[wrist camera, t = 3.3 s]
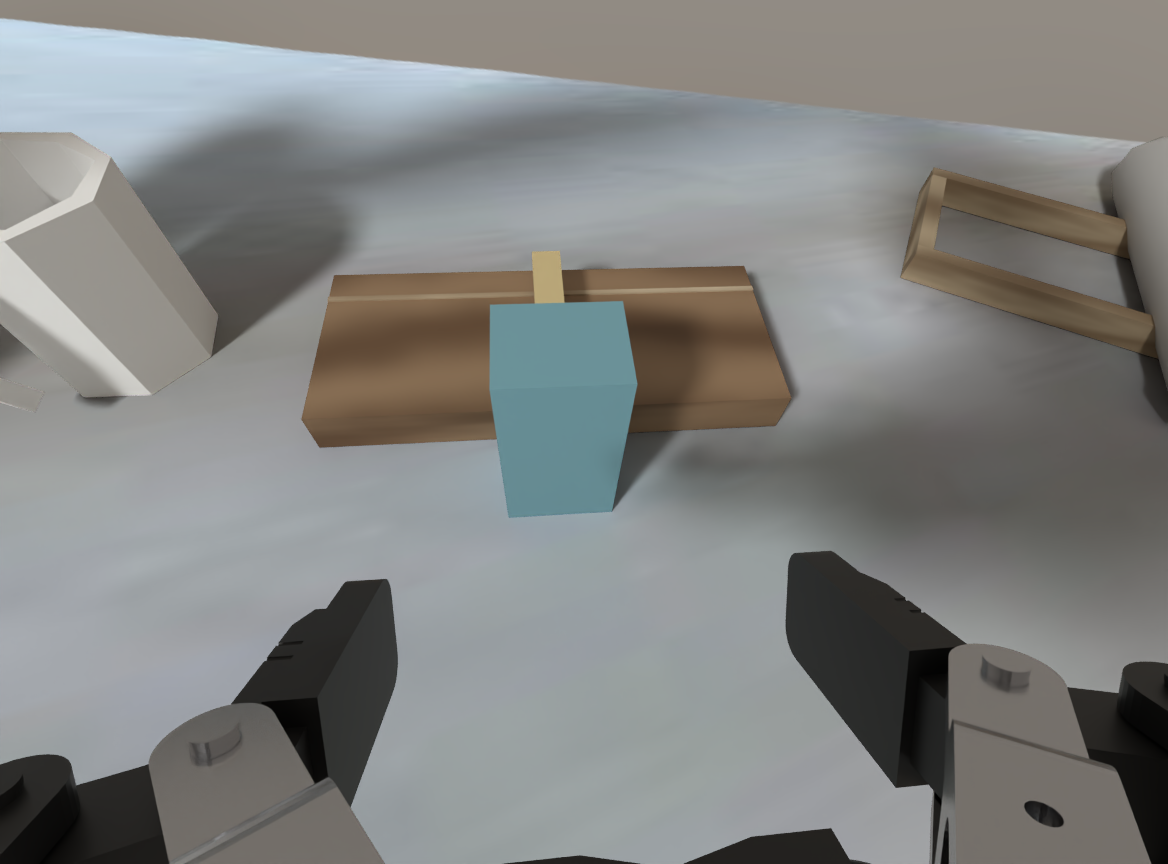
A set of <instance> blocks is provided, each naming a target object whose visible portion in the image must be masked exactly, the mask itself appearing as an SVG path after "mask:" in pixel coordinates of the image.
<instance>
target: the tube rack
mask: <svg viewBox="0 0 1168 864" xmlns="http://www.w3.org/2000/svg"><path fill="white" fill-rule="evenodd" d="M942 206H945V207H949V208H952V209H956V210H959V211H963V212H966V213H970V214H973V215H977V216H980V217H984V218H987V219H991V220H994V221H998V222H1001V223H1005V224H1008V225H1012V226H1015V227H1019V228H1022V229H1026V230H1029V231H1033V232H1036V233H1040V234H1043V235H1047V236H1050V237H1054V238H1057V239H1061V240H1064V241H1068V242H1071V243H1075V244H1078V245H1082V246H1085V247H1089V248H1092V249H1096V250H1099V251H1103V252H1106V253H1110V254H1113V255H1117V256H1120V257H1123V258H1127V259H1130V256H1129V253H1128V242H1127V226H1126V223H1125V220H1124V219H1120V218H1117V217H1113V216H1109V215H1106V214H1102V213H1098V212H1095V211H1091V210H1087V209H1084V208H1080V207H1076V206H1073V205H1069V204H1065V203H1062V202H1058V201H1055V200H1051V199H1047V198H1044V197H1040V196H1036V195H1033V194H1029V193H1025V192H1022V191H1018V190H1014V189H1011V188H1007V187H1004V186H1000V185H996V184H993V183H989V182H985V181H982V180H978V179H974V178H971V177H967V176H963V175H960V174H956V173H952V172H949V171H945V170H942V169H938V168H933V170H932V172H931V173H930V175H929V177H928V179H927V180H926V182H925V184H924V185H923V187H922V189H921V190H920V192H919V197H918V201H917V206H916V210H915V215H914V219H913V224H912V228H911V233H910V237H909V242H908V246H907V251H906V255H905V260H904V264H903V269H902V273H901V278H903V279H906V280H910V281H913V282H916V283H919V284H922V285H925V286H929V287H932V288H935V289H938V290H941V291H944V292H948V293H951V294H954V295H957V296H960V297H963V298H967V299H970V300H973V301H976V302H979V303H982V304H986V305H989V306H992V307H995V308H998V309H1001V310H1005V311H1008V312H1011V313H1014V314H1017V315H1020V316H1024V317H1027V318H1030V319H1033V320H1036V321H1039V322H1043V323H1046V324H1049V325H1052V326H1055V327H1058V328H1062V329H1065V330H1068V331H1071V332H1074V333H1077V334H1081V335H1084V336H1087V337H1090V338H1093V339H1096V340H1100V341H1103V342H1106V343H1109V344H1112V345H1115V346H1119V347H1122V348H1125V349H1128V350H1131V351H1134V352H1138V353H1141V354H1144V355H1147V356H1150V357H1153V358H1157V359H1159V358H1158V355H1157V351H1156V348H1155V324H1154V320H1153V317H1152V315H1150V314H1146V313H1143V312H1140V311H1136V310H1133V309H1130V308H1126V307H1123V306H1120V305H1117V304H1113V303H1110V302H1107V301H1103V300H1100V299H1097V298H1093V297H1090V296H1087V295H1083V294H1080V293H1077V292H1074V291H1070V290H1067V289H1064V288H1060V287H1057V286H1054V285H1050V284H1047V283H1044V282H1040V281H1037V280H1034V279H1031V278H1027V277H1024V276H1021V275H1017V274H1014V273H1011V272H1007V271H1004V270H1001V269H997V268H994V267H991V266H987V265H984V264H981V263H978V262H974V261H971V260H968V259H964V258H961V257H958V256H954V255H951V254H948V253H944V252H941V251H938V250H935V249H934V246H935V240H936V235H937V229H938V224H939V218H940V213H941V207H942Z"/></svg>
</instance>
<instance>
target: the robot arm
mask: <svg viewBox="0 0 1168 864" xmlns="http://www.w3.org/2000/svg"><path fill="white" fill-rule="evenodd" d="M786 635H787V640H788V643H789V646H790V649H791V651H792V653H793V655H794V657H795V658H796V660H797V661H798V662H799V663H800V665H801V666H802V667H803V669H804V670H805V671H806V672H807V674H808V675H809V676H810V678H811V679H812V680H813V681H814V683H815V684H816V685H817V687H818V688H819V689H820V691H821V692H822V693H823V694H824V696H825V697H826V698H827V700H828V701H829V702H830V703H831V705H832V706H833V707H834V709H835V710H836V711H837V712H838V714H839V715H840V716H841V718H842V719H843V720H844V721H845V723H846V724H847V725H848V727H849V728H850V729H851V730H852V732H853V733H854V734H855V736H856V737H857V738H858V739H859V741H860V742H861V743H862V745H863V746H864V747H865V749H866V750H867V751H868V752H869V754H870V755H871V756H872V758H873V759H874V760H875V761H876V763H877V764H878V765H879V767H880V768H881V769H882V770H883V772H884V773H885V774H886V776H887V777H888V778H889V779H890V781H891V782H892V783H893V785H894V786H895V787H896V788H899V787H909V786H919V785H928V784H929V785H930V787H931V788H932V789H933V798H932V807H931V828H930V859H929V864H1168V664H1165V663H1158V662H1135V663H1131V664H1128V665H1127V666H1125V667H1124V669H1123V672H1122V678H1121V683H1120V689H1119V693H1111V692H1103V691H1094V690H1086V689H1077V688H1069V687H1067V686H1066V684H1065V682H1064V680H1063V679H1062V678H1061V676H1060V675H1059V674H1057V673H1056V672H1055V671H1054V670H1053V669H1051V668H1050V667H1048V666H1047V665H1045V664H1044V663H1042V662H1040V661H1038V660H1036V659H1034V658H1032V657H1030V656H1028V655H1025V654H1023V653H1020V652H1017V651H1014V650H1011V649H1007V648H1003V647H999V646H994V645H987V644H966V643H965V642H963V641H962V640H961V639H959V638H958V637H957V636H955V635H954V634H953V633H951V632H950V631H949V630H947V629H946V628H945V627H943V626H942V625H941V624H939V623H938V622H937V621H935V620H934V619H933V618H931V617H930V616H929V615H927V614H926V613H925V612H924V613H921V609H919V608H918V607H917V606H915V605H914V604H913V603H911V602H910V601H906V600H905V597H903V596H902V595H901V594H899V593H898V592H897V591H895V590H894V589H893V588H891V587H890V586H889V585H887V584H886V583H883V582H881V581H879V580H876V579H874V578H872V577H870V576H867V575H865V574H863V573H860V572H859V571H857V570H856V569H855V568H854V567H852V566H851V565H850V564H848V563H847V562H846V561H845V560H843V559H842V558H841V557H839V556H838V555H837V554H836V553H834V552H832V551H821V552H805V553H794V554H793V555H792V556H791V558H790V560H789V566H788V584H787V604H786ZM397 667H398V654H397V643H396V634H395V624H394V614H393V605H392V595H391V588H390V584H389V582H388V580H387V579H378V580H363V581H347V582H345V583H344V584H343V586H342V587H341V588H340V590H339V591H338V593H337V594H336V596H335V597H334V598H333V600H332V601H331V603H330V604H329V606H328V607H327V608H326V609H315V610H314V611H312V612H311V613H309V614H308V615H306V616H305V617H303V618H302V619H300V620H299V621H298V622H296V623H295V624H293V625H292V626H291V627H290V629H289V630H288V631H287V633H286V634H285V635H284V636H283V638H282V639H281V640H280V642H279V645H278V646H276V647H275V648H274V649H273V651H272V652H271V653H270V654H269V656H268V657H267V661H264V662H263V664H262V665H261V666H260V667H259V669H258V670H257V671H256V673H255V674H254V675H253V676H252V678H251V679H250V680H249V682H248V683H247V684H246V685H245V687H244V688H243V689H242V691H241V692H240V693H239V695H238V696H237V697H236V698H235V700H234V701H233V702H232V704H231V705H227V706H223V707H220V708H216V709H213V710H210V711H208V712H205V713H203V714H201V715H198V716H196V717H194V718H192V719H190V720H189V721H187V722H185V723H183V724H182V725H180V726H179V727H177V728H176V729H174V730H173V731H172V732H171V733H169V734H168V735H167V736H166V737H165V738H164V739H163V740H162V741H161V742H160V743H159V744H158V745H157V746H156V748H155V749H154V751H153V752H152V754H151V756H150V760H149V764H148V765H145V766H142V767H139V768H135V769H132V770H128V771H125V772H121V773H118V774H115V775H111V776H108V777H104V778H101V779H97V780H94V781H90V782H87V783H83V784H80V785H76V783H75V779H74V775H73V771H72V766H71V763H70V762H69V760H68V759H66V758H64V757H62V756H59V755H49V754H47V755H36V756H30V757H25V758H21V759H17V760H13V761H10V762H7V763H4V764H1V765H0V864H385V863H384V861H383V860H382V858H381V857H380V855H379V853H378V852H377V850H376V849H375V847H374V845H373V844H372V842H371V840H370V839H369V837H368V836H367V834H366V832H365V831H364V829H363V827H362V826H361V824H360V823H359V821H358V819H357V818H356V816H355V815H354V813H353V811H352V810H351V808H350V807H351V804H352V802H353V799H354V796H355V794H356V791H357V788H358V785H359V783H360V780H361V777H362V774H363V772H364V769H365V766H366V764H367V761H368V758H369V755H370V753H371V750H372V747H373V745H374V742H375V739H376V736H377V734H378V731H379V728H380V726H381V723H382V720H383V717H384V715H385V712H386V709H387V706H388V704H389V701H390V698H391V696H392V693H393V690H394V687H395V683H396V677H397ZM506 864H638V863H631V862H624V861H616V860H609V859H602V858H595V857H587V856H570V857H561V858H552V859H543V860H533V861H524V862H515V863H506ZM684 864H870V863H866V862H862V861H856V860H850V859H849V858H848V856H847V855H846V853H845V851H844V849H843V848H842V846H841V844H840V843H839V841H838V839H837V838H836V836H835V834H834V832H833V831H832V829H831V828H829V829H820V830H811V831H802V832H792V833H783V834H774V835H765V836H755V837H750V838H747V839H745V840H742V841H740V842H737V843H735V844H732V845H730V846H727V847H725V848H722V849H720V850H717V851H715V852H712V853H710V854H707V855H705V856H702V857H699V858H697V859H694V860H692V861H689V862H687V863H684Z"/></svg>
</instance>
